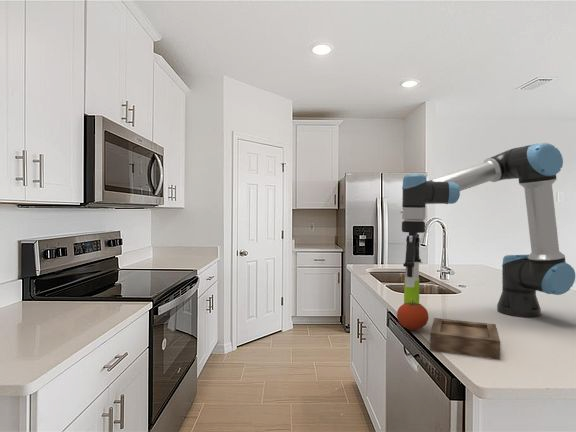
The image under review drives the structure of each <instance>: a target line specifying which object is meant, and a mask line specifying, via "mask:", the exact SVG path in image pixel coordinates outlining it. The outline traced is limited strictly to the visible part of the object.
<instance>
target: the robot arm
mask: <svg viewBox="0 0 576 432" xmlns="http://www.w3.org/2000/svg"><path fill="white" fill-rule="evenodd" d="M563 164H564V158H563V155H562V153H561V151H560V150H559V149H558V147H556V146H555V145H553V144H551V143H548V142H543V143H542V142H541V143H533V144H529V145H524V146H519V147H513V148H511V149H508V150H505V151H502V152H500V153H498V154H496V155H494V156H491V157H489V158H486V159H484V161H483V162H481V163H479V164H475V165H472V166H470V167H469V166H468V167H465V168H463V169H461V170H460V169H459V170H458V171H454V172H451V173H447V174H445V175H442V176H438V177H436V178H433V179H430V180H427V176H426V175H425V174H419V173H418V174H417V173H416V174H414V173H413V174H412V173H411V174H406V175H404V177H402V189H401V190H402V204H401V205H402V210H400V211H399V213H400V214H402V215H401V216H402V217H401V219H402V220H403V221H401V232H402V233H408V235H407V236H406V239H405V240H406V251H405V258H404V259H405V262H404V263H403V264H402V265H403V267H405V276H404V277H405V287H414V281H419V282H420V277H419V274H420V273H419V272H420V263H419V262H422V258H420V241H421V239H420V234H423V233H426V222H425V220H426V217H427V216H426V210H427V209H426V207H427V206H426V205H437V204H438V205H441V204H444V205H448V204H450V205H451V204H453V205H454V204H456V203H457V202H458V200H459V199H460V196H461V192H462V191H464V190H467V189H471V188H474V187H476V186H479V185H482V184H485V183H488V182H492V183H496V182H499V181H504V180H513V179H518V185H520V186H521V187H523V190H524V197H525V206H526V213H527V223H528V230H529V231H528V233H529V243H530V250H531V252H530V254H506V255H504V256H503V258H502V264H501V269H502V272H501V273H502V277H501V279H502V280H501V281H502V284H501V285H502V287H501V294H500V295H499V300H498V302H497V306H496V310H497V312H498V313H499V312H500V313H501V314H503V315H508V316H515V317H524V318H536V317H540V316H541V315H542V310H541V309H542V308H541V306H540V302H539V300H538V297H537V292H542V293H545V294H546V295H554V296H555V295H556V296H561V295H564V294H566V293H568V292H569V291H570V290H571V288H572V287H573V285H574V284H575V282H576V281H575V280H576V271H575V269H574V267H572V265H571V264H569V263H567V262H566V256H565V254H563V253H562V252H561V251H560V245H559V235H558V230H557V229H558V227H557V226H558V225H557V218H556V210H555V200H554V191H553V184H554V183H555V182H556V181H557V180H558V179H557V174H558V173H560V172H561V170H562V168H563Z"/></svg>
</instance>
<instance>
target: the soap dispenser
mask: <svg viewBox="0 0 576 432" xmlns="http://www.w3.org/2000/svg"><path fill="white" fill-rule="evenodd" d="M419 264H423V261H421V262H419ZM405 277H406V276H404V279H403V280H404V281H403V282H404V283H403V285H404V286H403V289H404V290H403V304H405V303H410V302H411V303H412V300H413V303H414V302H416V303H417V304H420V280H419V281H414V287H405ZM409 301H410V302H409Z"/></svg>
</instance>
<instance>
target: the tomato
mask: <svg viewBox="0 0 576 432" xmlns="http://www.w3.org/2000/svg"><path fill="white" fill-rule="evenodd" d="M409 302H410V301H409ZM396 318H397V321H398V323H399V324H400V325H401V326H402V328H405V329H406V330H410V331H418V330H422V329H423V328H424V327H425V326H426V325H427V324H428V322H429V313H428V310H427V309H426V307H425V306H424V305H423V304H421V303H419V304H417V303H416V302H414V303H413V300H412V303H411V302H410V303H405V304H404V303H402V304H401V305H400V306H399V308H398V309H397V313H396Z"/></svg>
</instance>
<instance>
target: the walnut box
mask: <svg viewBox="0 0 576 432" xmlns="http://www.w3.org/2000/svg"><path fill="white" fill-rule="evenodd" d="M432 321H433V322H432V325H431V329H430V332H429V348H430V349H429V350H430V351H435V352H441V353H449V354H456V355H462V356H463V355H464V356H472V357H479V358H480V357H481V358H485V359H486V358H488V359H494V360H501V339H500V336H499V332H498V329H497V324H495V323H487V322H477V321H467V320H458V319H457V320H456V319H448V318H439V317H434V318H433V320H432Z"/></svg>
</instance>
